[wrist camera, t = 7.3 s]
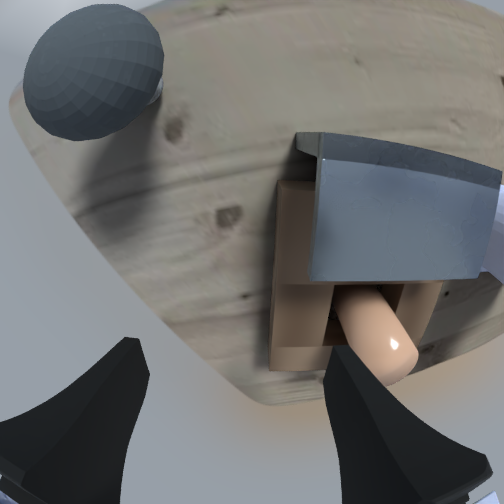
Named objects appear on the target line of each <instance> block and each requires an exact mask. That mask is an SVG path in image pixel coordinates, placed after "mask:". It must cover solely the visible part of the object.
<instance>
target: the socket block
mask: <svg viewBox="0 0 504 504" xmlns="http://www.w3.org/2000/svg"><path fill="white" fill-rule="evenodd" d="M315 186H316V182H310V181H292V180H278V183H277V205H276V225H275V244H274V261H273V278H272V293H271V308H270V322H269V336H268V358H269V371H309V370H326V369H327V366H328V362H329V359H330V355H331V351H332V347H333V346H335V345H349V344H348V341H347V338H346V336H345V333H344V331H343V328H342V326H341V323H340V321H339V320H328V316H329V311H330V306H331V301H332V295H333V290H334V285H350V284H382V288H381V291H380V293H381V294H382V295H383V297H384V298H385V300H386V301H387V303H388V304H389V306H390V307H391V309H392V310H393V312H394V314H395V315H396V317H397V318H398V320H399V321H400V323H401V324H402V326H403V328H404V329H405V331H406V332H407V334H408V336H409V337H410V339H411V340H412V342H413V344H414V345H415V347H416V349H417V348H418V346H419V343H420V341H421V339H422V337H423V334H424V332H425V330H426V327H427V325H428V322H429V320H430V317H431V315H432V312H433V310H434V307H435V304H436V302H437V299H438V296H439V293H440V290H441V288H442V285H443V282H444V280H411V281H310V279H309V276H308V273H307V269H308V260H309V251H310V242H311V232H312V222H313V211H314V199H315Z"/></svg>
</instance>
